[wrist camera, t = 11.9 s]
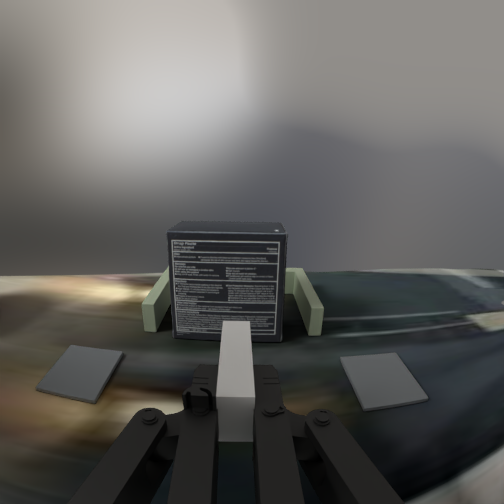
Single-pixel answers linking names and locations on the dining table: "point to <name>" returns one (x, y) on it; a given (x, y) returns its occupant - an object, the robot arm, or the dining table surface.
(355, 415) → the dining table surface
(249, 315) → the small box
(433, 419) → the dining table surface
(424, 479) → the dining table surface
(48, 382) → the track
